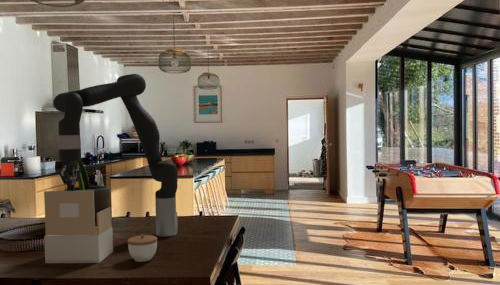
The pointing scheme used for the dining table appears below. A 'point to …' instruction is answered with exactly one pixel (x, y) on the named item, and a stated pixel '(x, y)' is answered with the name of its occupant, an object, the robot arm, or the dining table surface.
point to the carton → (82, 244)
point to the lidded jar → (142, 247)
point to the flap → (69, 212)
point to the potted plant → (99, 191)
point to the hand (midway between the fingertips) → (71, 194)
